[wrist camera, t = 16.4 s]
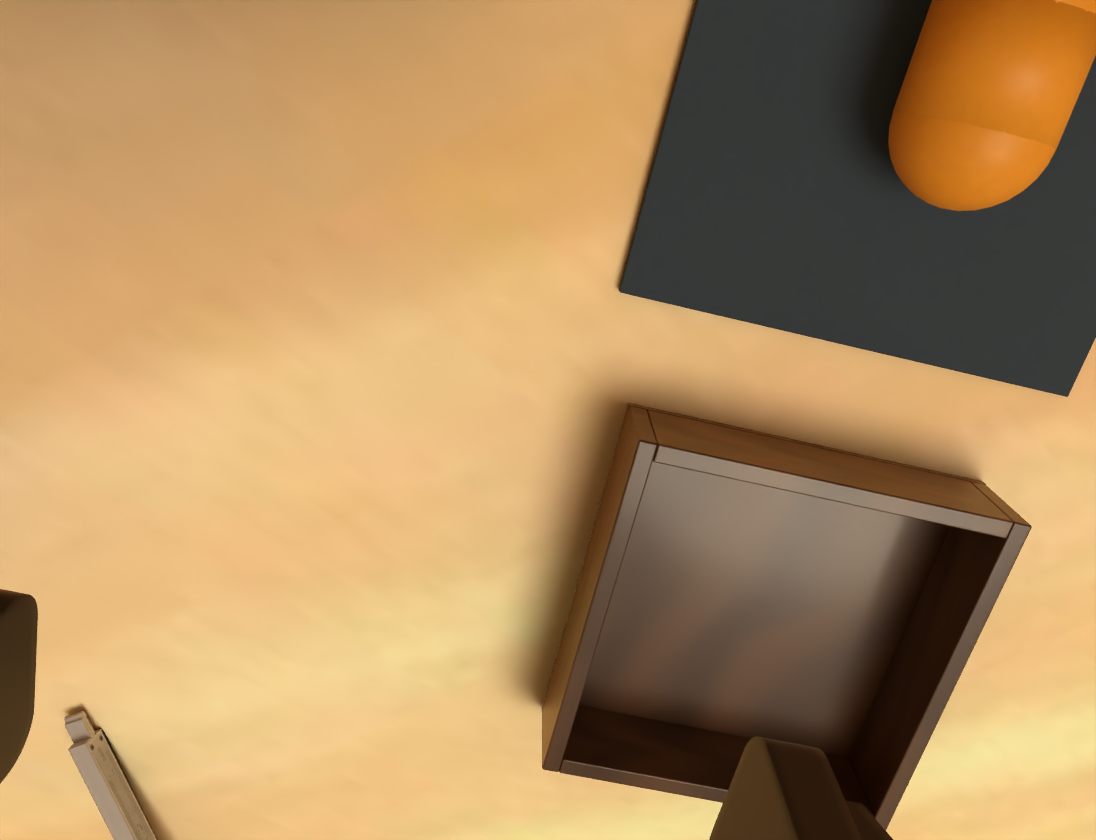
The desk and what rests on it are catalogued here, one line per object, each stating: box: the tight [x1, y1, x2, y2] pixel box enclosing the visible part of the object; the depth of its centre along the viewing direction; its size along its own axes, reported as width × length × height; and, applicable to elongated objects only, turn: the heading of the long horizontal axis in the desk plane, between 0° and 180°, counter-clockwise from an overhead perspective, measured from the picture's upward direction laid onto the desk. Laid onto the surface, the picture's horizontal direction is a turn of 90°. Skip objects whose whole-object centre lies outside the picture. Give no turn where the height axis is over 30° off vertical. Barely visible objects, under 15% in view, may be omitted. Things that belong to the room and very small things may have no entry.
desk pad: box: [619, 0, 1096, 397], centre depth 34 cm, size 20×22×1 cm
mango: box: [888, 0, 1096, 211], centre depth 31 cm, size 6×10×6 cm, turn 167°
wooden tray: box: [542, 403, 1031, 831], centre depth 40 cm, size 17×17×4 cm
